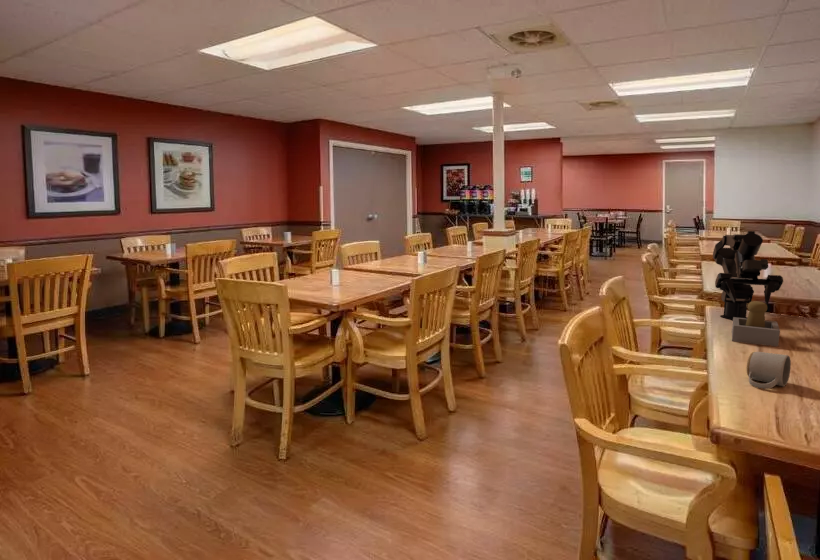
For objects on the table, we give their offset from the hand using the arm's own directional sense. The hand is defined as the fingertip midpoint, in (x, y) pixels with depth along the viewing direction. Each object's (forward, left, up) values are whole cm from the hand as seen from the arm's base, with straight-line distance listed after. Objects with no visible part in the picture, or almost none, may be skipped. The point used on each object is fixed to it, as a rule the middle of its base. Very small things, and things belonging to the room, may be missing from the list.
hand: (751, 302), depth 176 cm
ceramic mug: (+34, -37, -10) cm, 51 cm away
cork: (+6, -5, -9) cm, 12 cm away
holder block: (+6, -5, -10) cm, 13 cm away
